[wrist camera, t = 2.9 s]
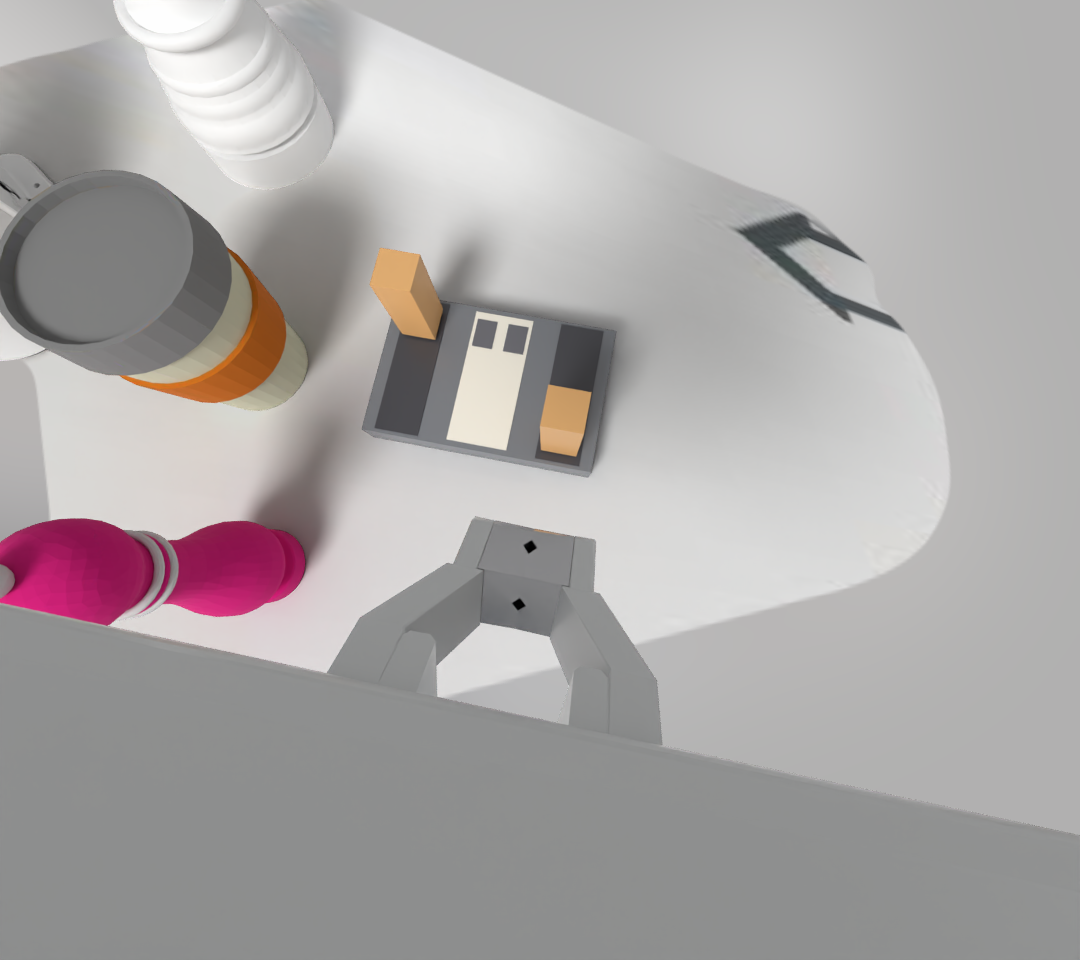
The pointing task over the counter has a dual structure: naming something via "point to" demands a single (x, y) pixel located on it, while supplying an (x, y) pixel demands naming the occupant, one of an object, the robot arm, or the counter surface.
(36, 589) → the pepper mill
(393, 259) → the slider
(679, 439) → the counter surface
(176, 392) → the reusable coffee cup
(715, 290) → the counter surface
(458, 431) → the switch panel
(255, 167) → the honey pot
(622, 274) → the counter surface
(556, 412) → the slider
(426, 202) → the counter surface
